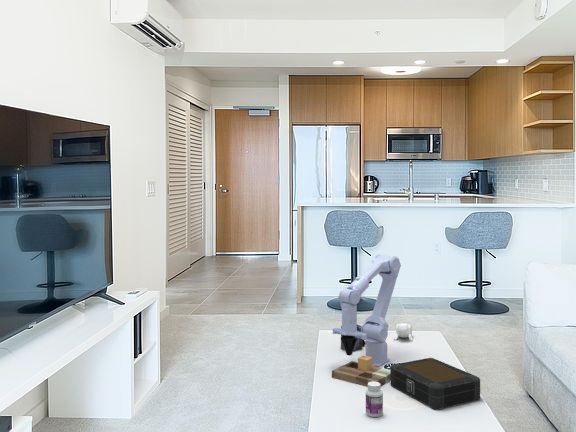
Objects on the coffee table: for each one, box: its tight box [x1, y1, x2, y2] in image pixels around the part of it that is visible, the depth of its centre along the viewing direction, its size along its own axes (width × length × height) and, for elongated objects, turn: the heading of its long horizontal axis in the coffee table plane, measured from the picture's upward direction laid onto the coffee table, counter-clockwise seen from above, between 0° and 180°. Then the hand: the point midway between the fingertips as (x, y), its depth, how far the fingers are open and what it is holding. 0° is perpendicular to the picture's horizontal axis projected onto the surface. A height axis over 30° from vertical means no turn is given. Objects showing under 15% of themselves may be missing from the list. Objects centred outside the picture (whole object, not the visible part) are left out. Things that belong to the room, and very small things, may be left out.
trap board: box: [331, 360, 390, 388], centre depth 194 cm, size 14×19×2 cm
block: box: [357, 355, 374, 371], centre depth 197 cm, size 4×4×4 cm
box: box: [340, 324, 363, 352], centre depth 228 cm, size 8×6×11 cm
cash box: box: [389, 357, 481, 411], centre depth 179 cm, size 25×20×8 cm
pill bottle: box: [365, 382, 384, 418], centre depth 162 cm, size 5×5×10 cm
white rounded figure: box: [393, 322, 413, 342], centre depth 244 cm, size 8×8×15 cm
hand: (349, 354), depth 201 cm, fingers closed
